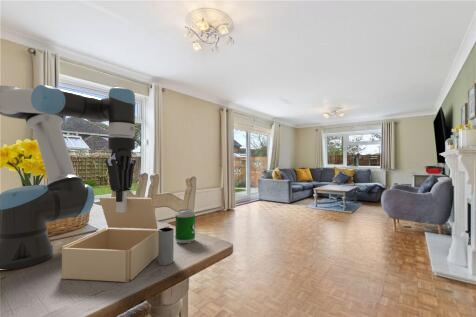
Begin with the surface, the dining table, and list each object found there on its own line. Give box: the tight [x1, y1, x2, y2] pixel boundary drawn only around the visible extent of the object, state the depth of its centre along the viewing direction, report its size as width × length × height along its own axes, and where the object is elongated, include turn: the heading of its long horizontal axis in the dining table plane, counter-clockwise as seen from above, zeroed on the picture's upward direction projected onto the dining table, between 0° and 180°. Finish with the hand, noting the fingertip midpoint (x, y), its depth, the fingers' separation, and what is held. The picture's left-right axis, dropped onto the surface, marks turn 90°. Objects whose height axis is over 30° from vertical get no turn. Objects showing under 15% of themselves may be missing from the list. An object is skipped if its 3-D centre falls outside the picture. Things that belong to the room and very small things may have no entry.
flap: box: [99, 196, 159, 230], centre depth 79 cm, size 18×1×12 cm, turn 85°
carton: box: [61, 227, 159, 283], centre depth 72 cm, size 20×20×8 cm
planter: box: [157, 226, 175, 266], centre depth 74 cm, size 4×4×10 cm
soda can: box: [175, 208, 196, 244], centre depth 93 cm, size 8×8×12 cm
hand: (121, 211), depth 75 cm, fingers closed
